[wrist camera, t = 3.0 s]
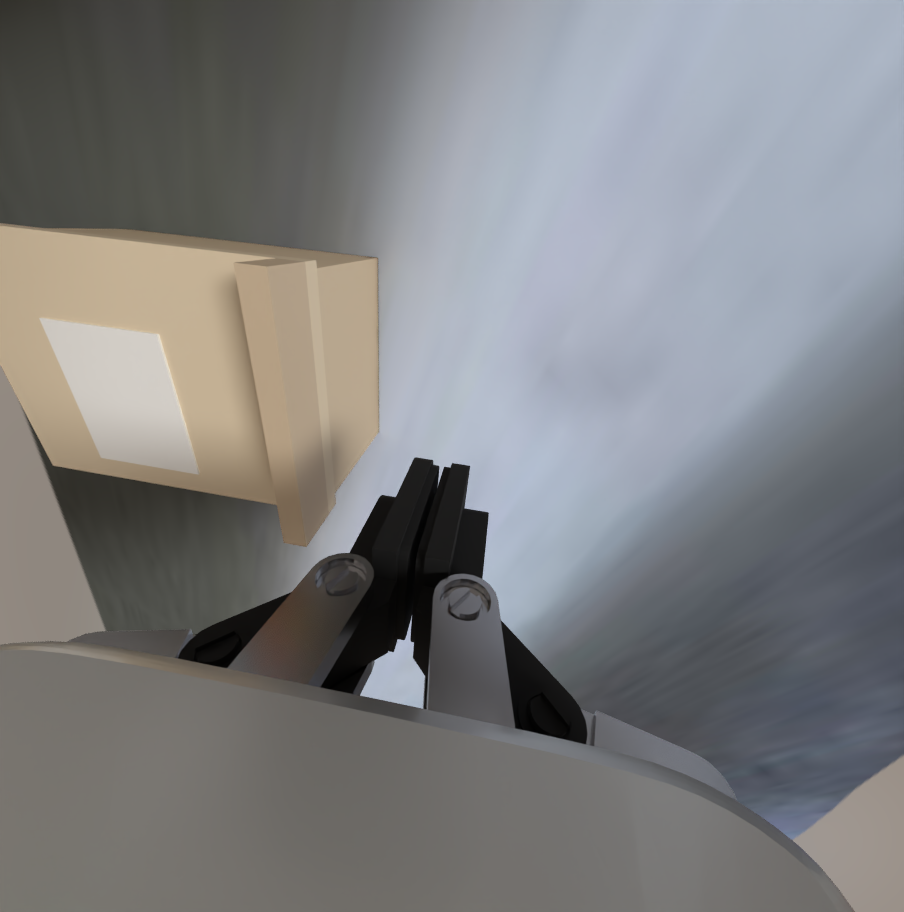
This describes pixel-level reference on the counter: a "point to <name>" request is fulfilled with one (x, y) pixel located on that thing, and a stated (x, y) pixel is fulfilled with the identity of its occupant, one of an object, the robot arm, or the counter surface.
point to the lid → (172, 366)
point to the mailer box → (326, 336)
